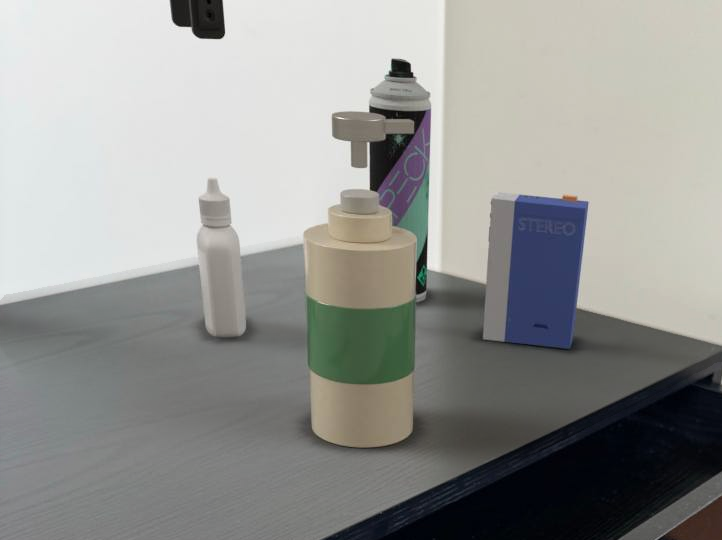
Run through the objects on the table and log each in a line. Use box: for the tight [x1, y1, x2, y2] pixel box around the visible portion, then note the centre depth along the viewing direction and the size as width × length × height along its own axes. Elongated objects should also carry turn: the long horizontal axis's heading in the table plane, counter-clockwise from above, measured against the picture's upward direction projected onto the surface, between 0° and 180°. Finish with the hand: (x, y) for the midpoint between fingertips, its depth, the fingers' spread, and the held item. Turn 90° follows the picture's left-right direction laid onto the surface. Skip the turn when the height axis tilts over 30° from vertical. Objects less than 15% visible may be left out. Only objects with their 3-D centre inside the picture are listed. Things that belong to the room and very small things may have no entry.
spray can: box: [368, 58, 432, 303], centre depth 89 cm, size 6×6×20 cm
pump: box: [331, 110, 414, 169], centre depth 59 cm, size 5×3×3 cm, turn 113°
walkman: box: [482, 192, 590, 350], centre depth 83 cm, size 8×3×12 cm, turn 79°
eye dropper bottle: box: [196, 177, 247, 338], centre depth 81 cm, size 4×6×12 cm
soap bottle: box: [302, 188, 417, 449], centre depth 65 cm, size 7×7×16 cm
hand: (198, 32), depth 72 cm, fingers open, 8 cm apart
